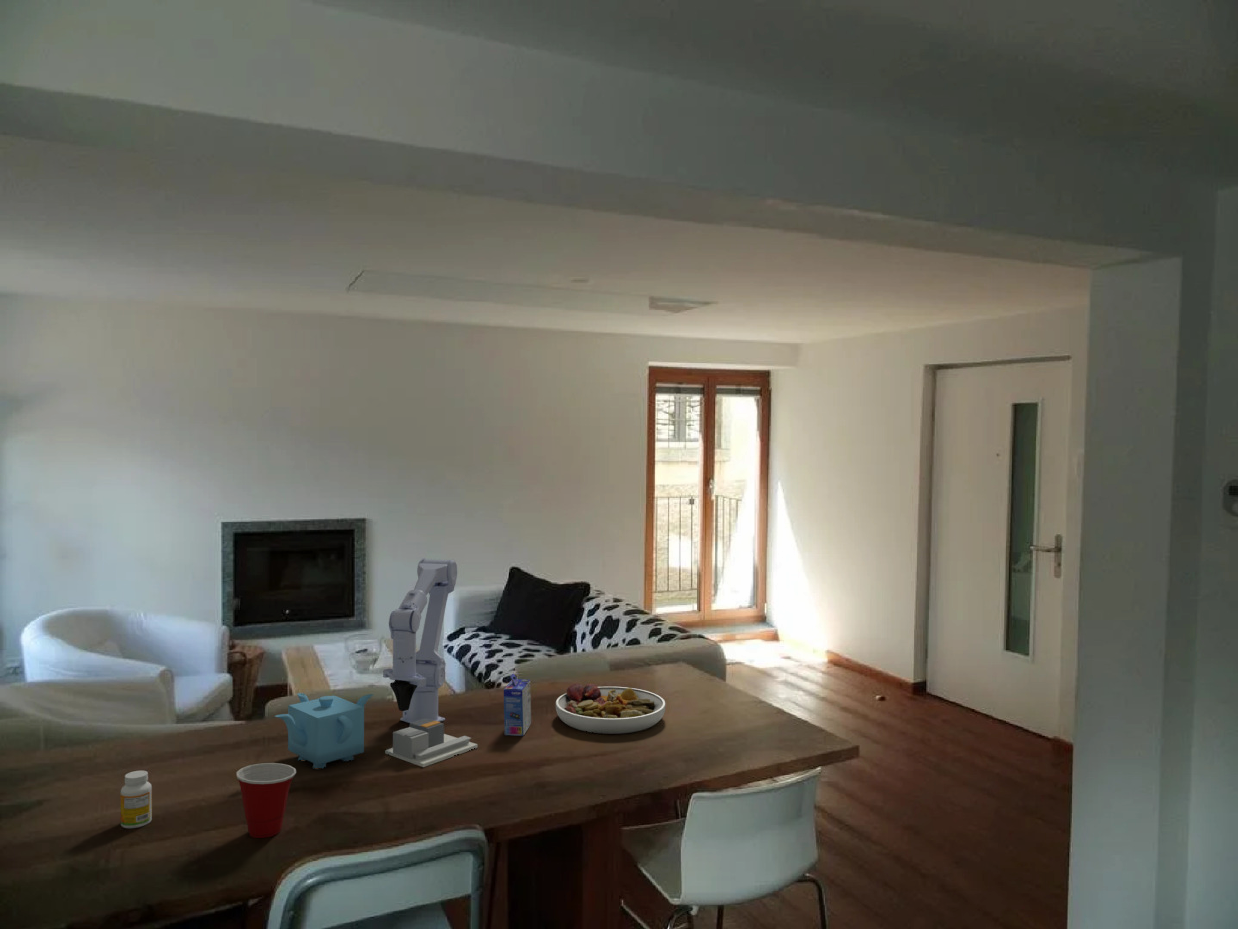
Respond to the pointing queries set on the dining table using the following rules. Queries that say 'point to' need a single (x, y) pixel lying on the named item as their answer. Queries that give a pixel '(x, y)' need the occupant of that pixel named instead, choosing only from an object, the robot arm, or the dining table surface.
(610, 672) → the dining table surface
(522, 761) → the dining table surface
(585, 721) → the bowl
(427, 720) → the block
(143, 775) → the supplement bottle
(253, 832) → the plastic cup
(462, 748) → the rail plate
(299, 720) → the teakettle
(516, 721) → the ink cartridge box
